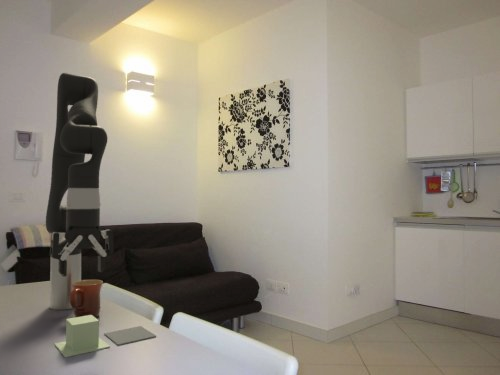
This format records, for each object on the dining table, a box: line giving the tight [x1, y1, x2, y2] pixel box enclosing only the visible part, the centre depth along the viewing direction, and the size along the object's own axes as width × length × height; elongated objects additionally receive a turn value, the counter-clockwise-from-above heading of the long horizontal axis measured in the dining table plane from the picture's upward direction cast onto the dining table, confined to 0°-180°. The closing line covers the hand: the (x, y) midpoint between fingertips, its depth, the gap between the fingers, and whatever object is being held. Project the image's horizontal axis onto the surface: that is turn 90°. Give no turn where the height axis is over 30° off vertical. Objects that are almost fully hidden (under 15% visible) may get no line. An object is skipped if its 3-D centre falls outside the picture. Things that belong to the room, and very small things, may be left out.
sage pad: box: [54, 336, 111, 358], centre depth 98 cm, size 10×10×1 cm
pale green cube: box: [65, 315, 100, 351], centre depth 98 cm, size 6×6×6 cm
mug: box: [70, 279, 104, 318], centre depth 121 cm, size 12×9×10 cm
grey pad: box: [103, 325, 157, 346], centre depth 106 cm, size 10×10×1 cm
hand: (82, 273), depth 99 cm, fingers open, 8 cm apart
